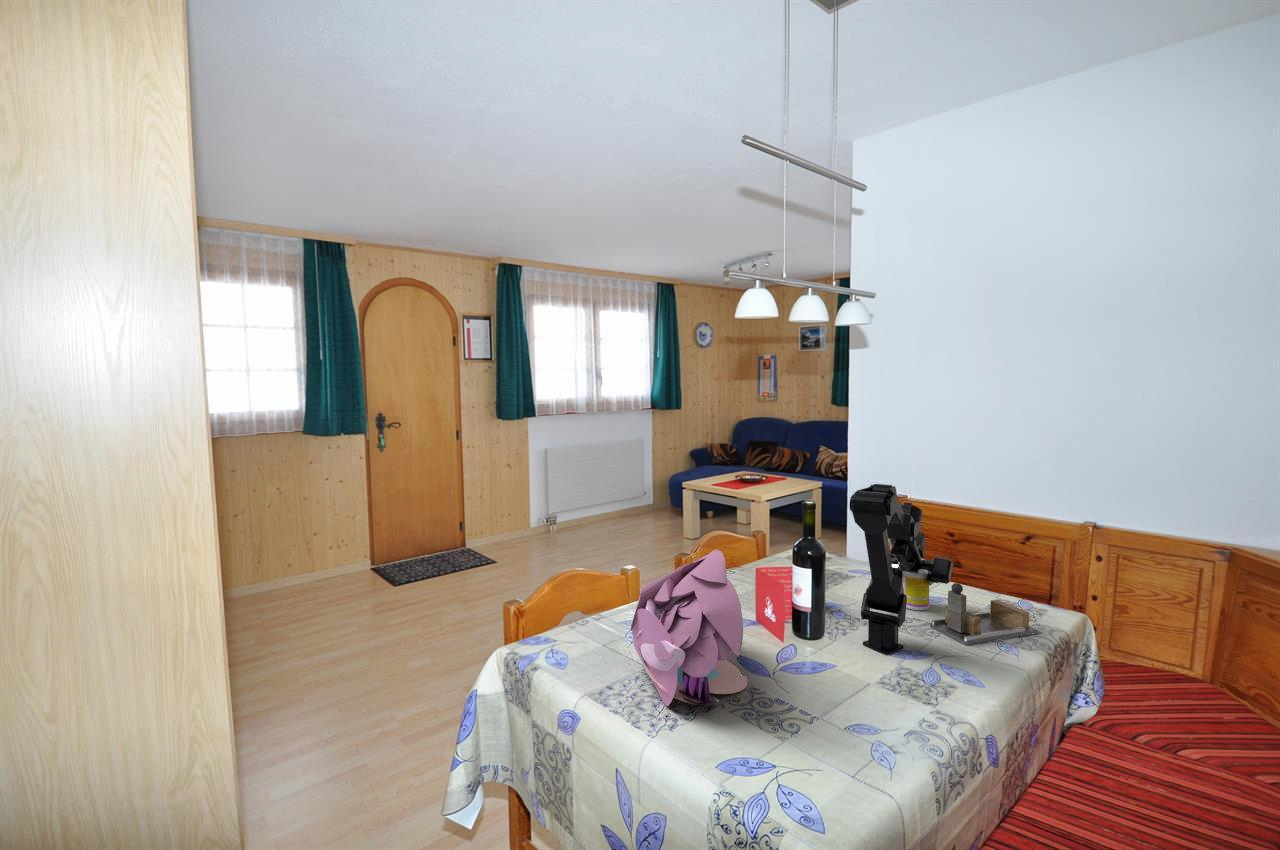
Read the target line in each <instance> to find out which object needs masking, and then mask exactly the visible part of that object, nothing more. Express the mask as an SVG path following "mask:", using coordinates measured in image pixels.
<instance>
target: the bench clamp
mask: <svg viewBox="0 0 1280 850" xmlns="http://www.w3.org/2000/svg"><path fill="white" fill-rule="evenodd" d="M972 614H973V615H976V616H978V617H980V618H981V634H975V635H971V634H969V633H967V632H963V633H960V632H958V631H956V630H954V629H952V628H950V627H948V626H947V623H946V622H945V617H941V618H936V619H935V618H933V619H932V620H931V622H930V623H929V628H931V629H932V630H935V631H936V632H939V633H941V634H942V635H945V636H947V637H948V638H950V639H952V640H954V641H956V642H957V643H960V644H961V643H962V644H961V645H963V644H964V646H965V645H966V646H972V645H977V643H978V644H983V642H984V643H990V642H989V641H991V642H995V641H994V640H997V641H999V640H998V639H1003V640H1006V639H1005V638H1009V639H1013V637H1015V638H1019V637H1018V636H1021V637H1024V636H1023V635H1027V636H1029V635H1028V634H1032V633H1037V632H1038V629H1037V628H1035V627H1032V626H1030V612H1029V611H1028V610H1024V609H1021V608H1019V607H1017V606H1013V605H1012V604H1009V603H1006V602H1005V601H1002V600H999V599H992V600H991V599H990V610H989V611H983V612H982V611H981V612H976V613H972ZM971 644H972V645H971Z"/></svg>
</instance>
